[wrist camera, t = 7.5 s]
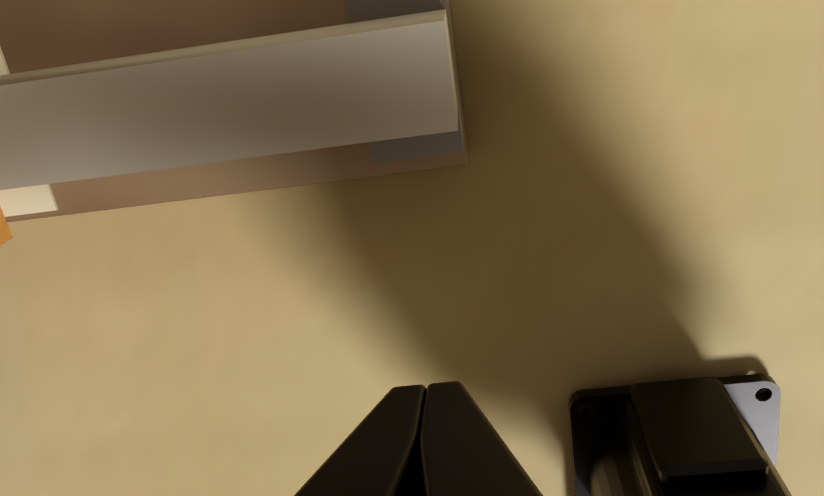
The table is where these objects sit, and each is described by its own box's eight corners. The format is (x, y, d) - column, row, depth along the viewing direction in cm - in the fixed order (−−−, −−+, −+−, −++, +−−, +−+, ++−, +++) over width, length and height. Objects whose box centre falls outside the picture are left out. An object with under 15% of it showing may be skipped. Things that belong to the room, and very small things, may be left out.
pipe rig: (468, 154, 21) (473, 254, 15) (-131, 230, 23) (-361, 347, 17) (435, -115, 18) (423, -139, 12) (-240, -1, 20) (-564, 31, 14)
